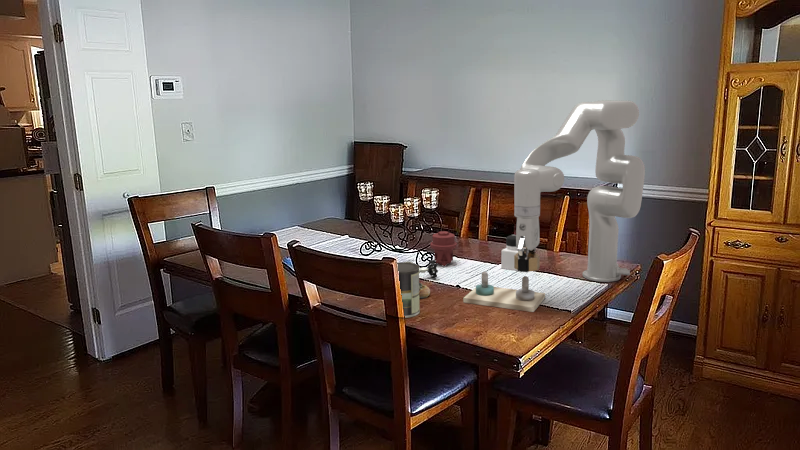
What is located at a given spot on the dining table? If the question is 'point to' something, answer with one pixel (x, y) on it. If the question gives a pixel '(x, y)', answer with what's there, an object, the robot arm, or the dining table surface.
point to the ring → (533, 261)
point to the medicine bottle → (509, 253)
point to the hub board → (505, 296)
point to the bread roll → (423, 291)
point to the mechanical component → (443, 247)
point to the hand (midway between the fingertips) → (526, 267)
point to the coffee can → (409, 288)
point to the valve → (429, 269)
